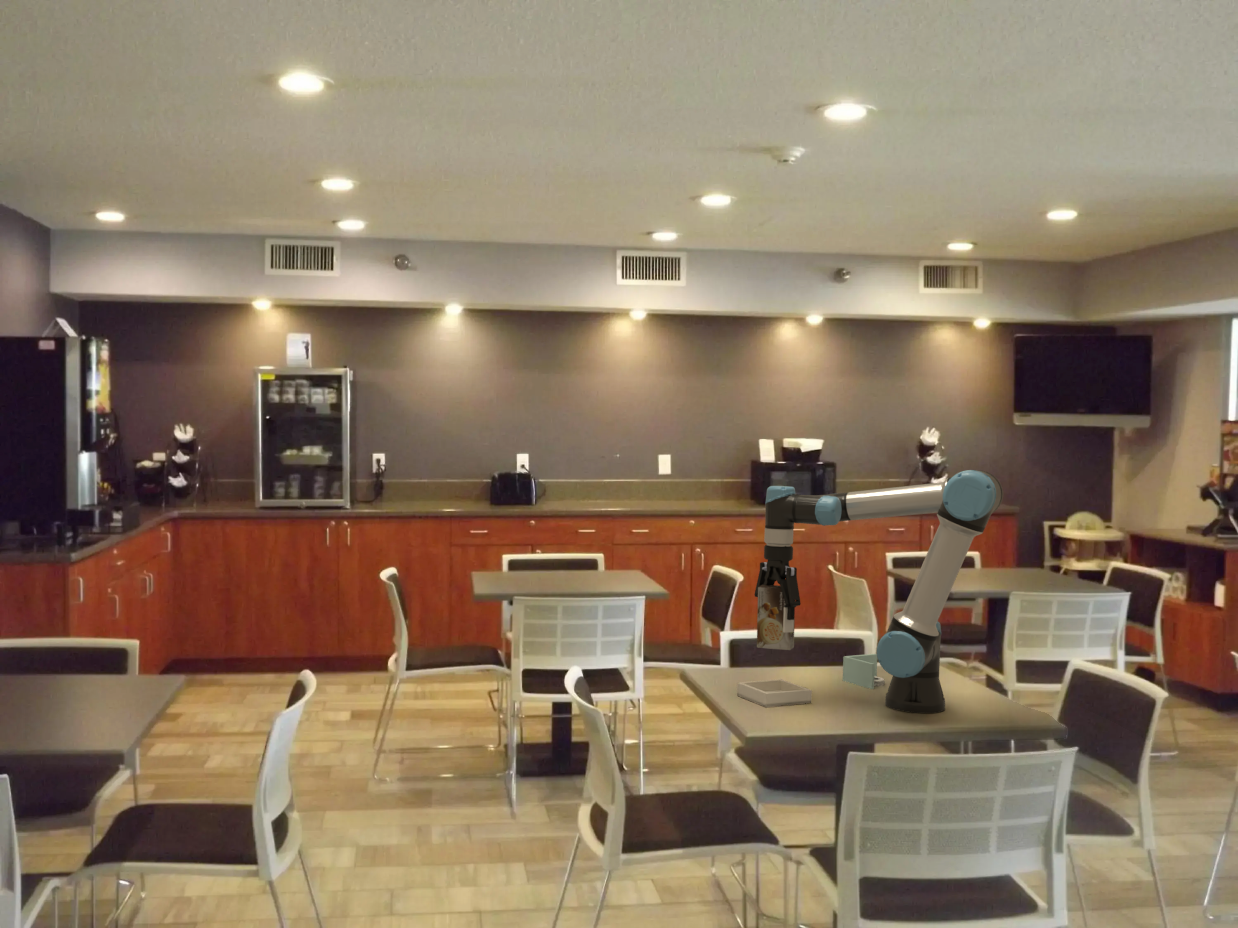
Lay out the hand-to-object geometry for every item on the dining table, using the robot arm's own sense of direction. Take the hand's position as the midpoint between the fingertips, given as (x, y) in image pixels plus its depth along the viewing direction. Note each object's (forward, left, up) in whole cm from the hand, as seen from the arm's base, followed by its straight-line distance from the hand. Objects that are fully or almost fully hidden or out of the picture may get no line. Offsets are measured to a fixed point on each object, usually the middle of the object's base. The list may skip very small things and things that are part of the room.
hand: (775, 628), depth 298 cm
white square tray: (0, 0, -19) cm, 19 cm away
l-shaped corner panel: (+9, -39, -19) cm, 45 cm away
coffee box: (0, 0, -5) cm, 5 cm away
